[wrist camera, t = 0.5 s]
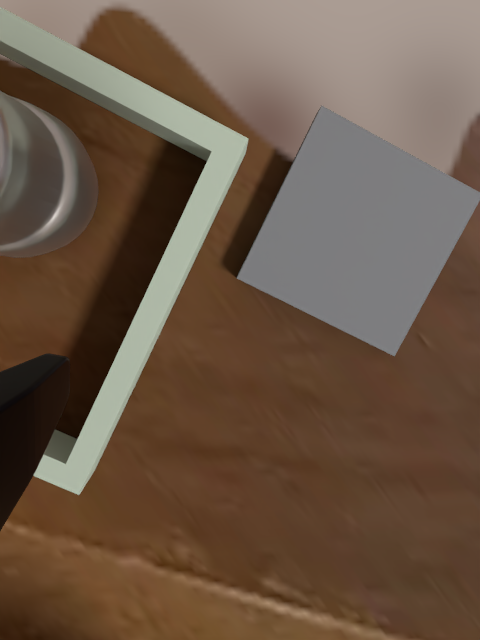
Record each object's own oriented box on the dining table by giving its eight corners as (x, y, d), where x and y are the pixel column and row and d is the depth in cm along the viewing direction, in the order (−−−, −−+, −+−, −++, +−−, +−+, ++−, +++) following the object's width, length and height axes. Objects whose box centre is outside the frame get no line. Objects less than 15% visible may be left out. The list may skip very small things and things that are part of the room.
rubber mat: (386, 352, 22) (394, 356, 21) (236, 277, 21) (236, 278, 20) (470, 197, 21) (482, 194, 20) (317, 113, 21) (321, 105, 20)
